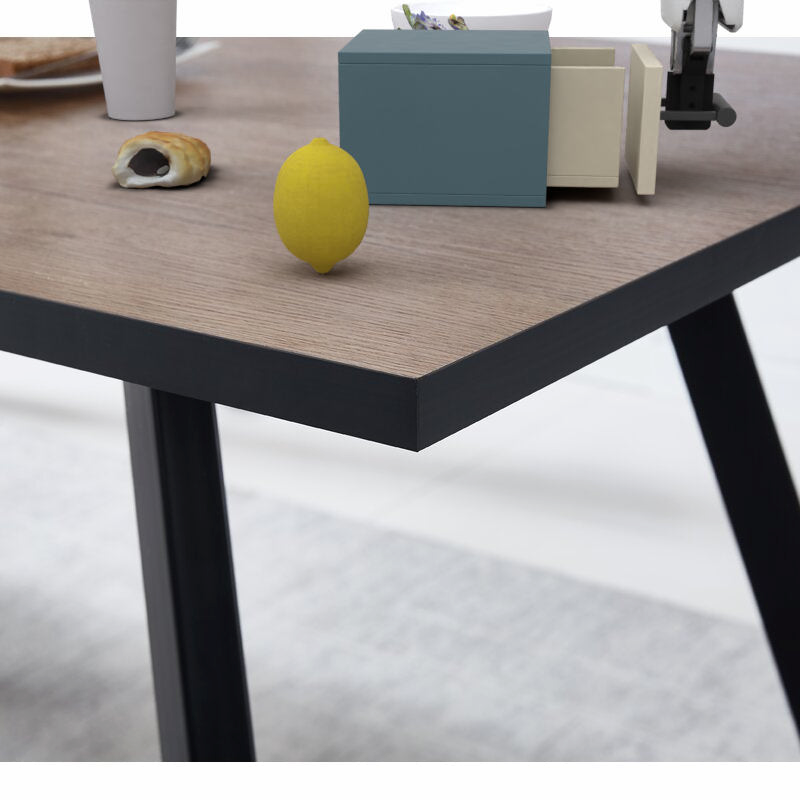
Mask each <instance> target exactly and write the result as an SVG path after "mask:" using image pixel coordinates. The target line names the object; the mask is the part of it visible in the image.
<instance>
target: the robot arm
mask: <svg viewBox="0 0 800 800" xmlns="http://www.w3.org/2000/svg"><path fill="white" fill-rule="evenodd" d="M744 8H745V0H660V17H661V20H662V21H663V22H664V23H665V24H666V26H668V27H669V28H670V51H669V52H670V55H669V56H670V57H669V70H668V71H667V73H666V87H665V88H666V89H665V90H666V91H665V98H666V104H665V107H664V111H712V103H713V93H714V89H715V88H714V87H715V78H716V77H715V75H716V74H715V73H714V70H715V69H714V67H715V58H716V48H717V47H716V46H717V45H716V44H717V37H718V26H720V27H721V28H723V29H724V30H726V31H728V32H729V33H732V34H734V33H737V32H738V31H740V29H742V27H743V24H744ZM663 121H664V124H665V126H666V128H667V129H668V130H670V131H707V130H709V129H710V128H711V127H712V121H687V120H663Z"/></svg>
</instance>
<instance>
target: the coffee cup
mask: <svg viewBox="0 0 800 800" xmlns="http://www.w3.org/2000/svg"><path fill="white" fill-rule="evenodd" d="M88 4H89V5H88V6H89V10H90V11H89V12H90V17H91V21H92V27H93V33H94V39H95V45H96V51H97V56H98V63H99V69H100V75H101V79H102V85H103V86H102V87H103V92H104V98H105V103H106V110H107V115H108V117H109V118H110V119H114V120H121V121H152V120H160V119H166V118H171V117H173V116H175V115H176V78H177V77H176V76H177V74H176V71H177V21H178V20H177V15H178V14H177V13H178V12H177V11H178V0H88Z"/></svg>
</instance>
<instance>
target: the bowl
mask: <svg viewBox="0 0 800 800" xmlns="http://www.w3.org/2000/svg"><path fill="white" fill-rule="evenodd" d="M403 4H404V3H402V4H397V5H393V6H391V8H390V15H391V16H390V17H391V22H392V26H393V29H398V28H399V27H400V28H401V29H403V30H413V29H412V27H411V26H410V24H409V22H408V20H407V18H406V16H405V13H404V11H403V7H402V6H403ZM406 4H407V5H408V6H409V9H410V12H411V13H414V14H415V15H416V14H417V13H418V14H419V15H420V14H421V11H424V13H425V15H426V17H427V16H429V17H430V18H431V20H432V19H433V18H436V22H437V24H441V25H443V27H444V28H446V29H447V30H454V29H453V28H452V27H451V26H450V24H449V23H448V18H450V16H451V15H452V14H454V15H455V16H456V19H457V17H459V16H461V17H462V18H463V19H464V22H465V24H466V26H467V28H468V29H469V30H548V31H549V28H550V25H551V23H552V18H553V17H552V15H553V8H552V6H549V5H545V4H540V3H534V2H533V3H532V2H522V1H504V0H436V1H418V2H409V3H406Z"/></svg>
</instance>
